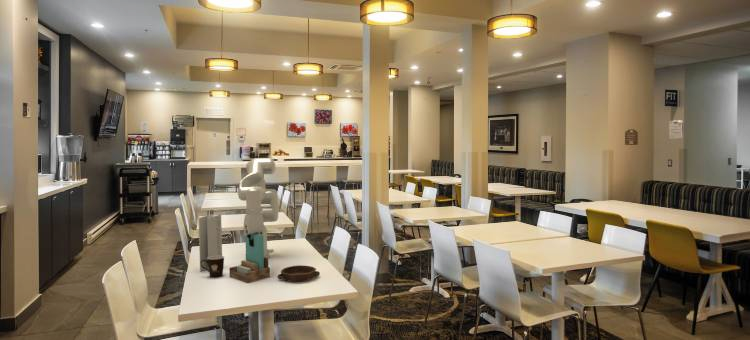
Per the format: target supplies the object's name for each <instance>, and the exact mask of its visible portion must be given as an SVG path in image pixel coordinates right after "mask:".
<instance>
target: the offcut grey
mask: <svg viewBox="0 0 750 340" xmlns="http://www.w3.org/2000/svg"><path fill="white" fill-rule="evenodd" d="M236 266H237V273H239V274H243V275H246V273H247V272H251V268H247V267H244V266H239V265H236Z"/></svg>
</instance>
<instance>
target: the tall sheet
mask: <svg viewBox="0 0 750 340" xmlns="http://www.w3.org/2000/svg"><path fill="white" fill-rule="evenodd" d="M247 234H248V233H247ZM244 237H245V260H246V261H249V262H253V263H256V264H258V270H259V269H263V268H264V242H263V235H262V234H257V233H253V239H254V247H251V246H249V239H248V238H247V237H246V236H244Z"/></svg>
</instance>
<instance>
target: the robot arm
mask: <svg viewBox="0 0 750 340" xmlns="http://www.w3.org/2000/svg"><path fill="white" fill-rule="evenodd" d="M245 168H246V172H247V175H245V176H243V178H242V179H241V180H240V181H239V184H238V189H237V196H238V199H239V200H240V201H244V202H245V204H246V205H245V206H246V207H245V208H246V214H245V215H244V219H243V234H242V235H243V236H244V237H245V236H246V237H247V238H248V239H249V246H251V247H254V239H253V233H257V234H262V235H263V242H264V257H267V258H268V259H269V258H270V257H271V255H270V253H274V249H273V248H272V249H268V228H267V227H266V225H265V224H264V223H274V222H277V221H278V220H279V195H278V191H277V190H276V189H274V188H267V187H266V180H265V178H264V175H273V174H275V172H276V168H277V167H276V162H275V161H274V159H272V158H271V157H257V158H252V159H250V161H247V163H246V165H245ZM262 205H269V206H262ZM247 233H248V234H247Z"/></svg>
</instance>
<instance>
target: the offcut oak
mask: <svg viewBox="0 0 750 340" xmlns="http://www.w3.org/2000/svg"><path fill="white" fill-rule="evenodd" d="M240 265H241V266H244V267H247V268H251V271H255V270H258V264H256V263H253V262H249V261H246V259H243V260H241V261H240Z"/></svg>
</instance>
